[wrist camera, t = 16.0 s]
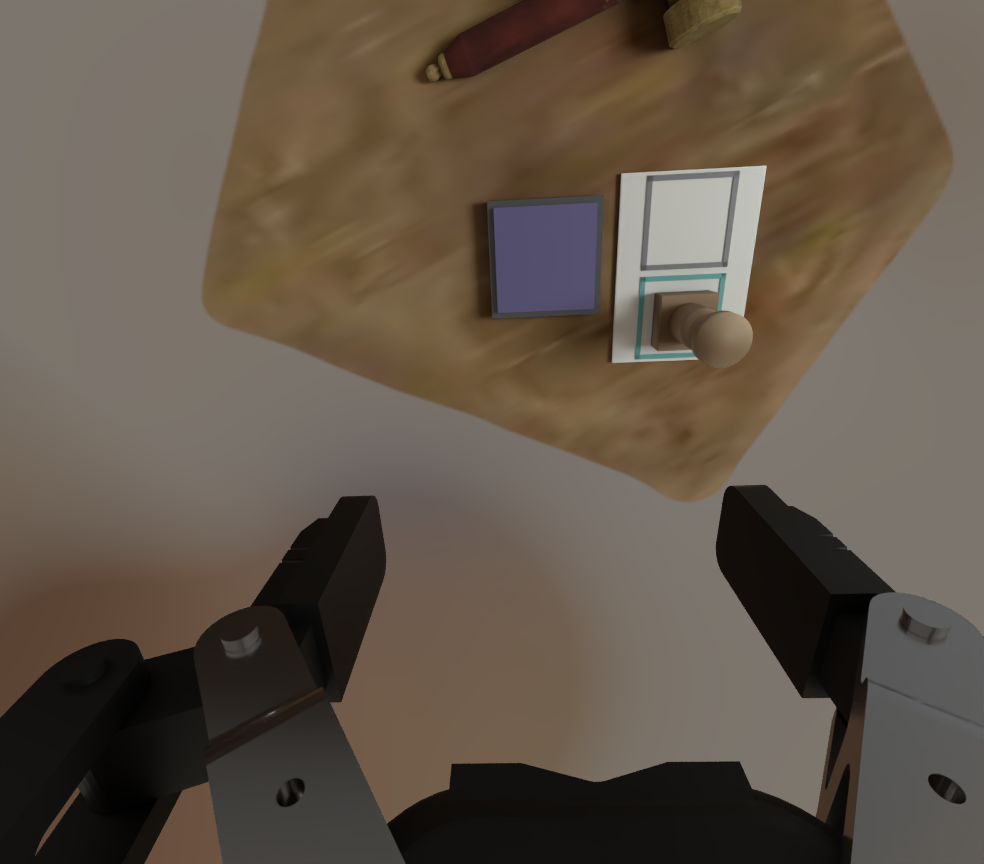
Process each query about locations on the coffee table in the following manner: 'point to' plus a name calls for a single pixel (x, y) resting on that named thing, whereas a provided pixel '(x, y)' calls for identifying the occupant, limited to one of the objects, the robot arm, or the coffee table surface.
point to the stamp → (699, 327)
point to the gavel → (552, 9)
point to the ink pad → (545, 256)
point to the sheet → (681, 247)
